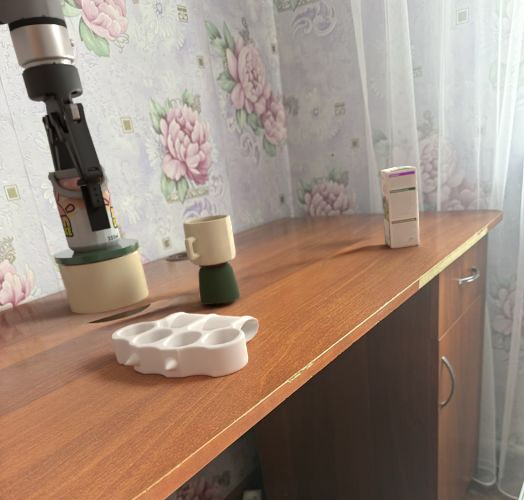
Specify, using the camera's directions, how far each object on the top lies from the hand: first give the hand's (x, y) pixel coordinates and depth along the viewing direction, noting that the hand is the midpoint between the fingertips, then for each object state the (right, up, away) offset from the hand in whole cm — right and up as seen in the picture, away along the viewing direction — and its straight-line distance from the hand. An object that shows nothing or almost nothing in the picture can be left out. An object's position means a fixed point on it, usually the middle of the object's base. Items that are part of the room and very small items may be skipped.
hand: (91, 228), depth 78 cm
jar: (+2, -12, +5) cm, 14 cm away
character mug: (+20, -12, 0) cm, 24 cm away
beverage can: (0, -3, +1) cm, 3 cm away
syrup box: (+54, +2, +21) cm, 58 cm away
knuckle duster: (+18, -20, -18) cm, 33 cm away
